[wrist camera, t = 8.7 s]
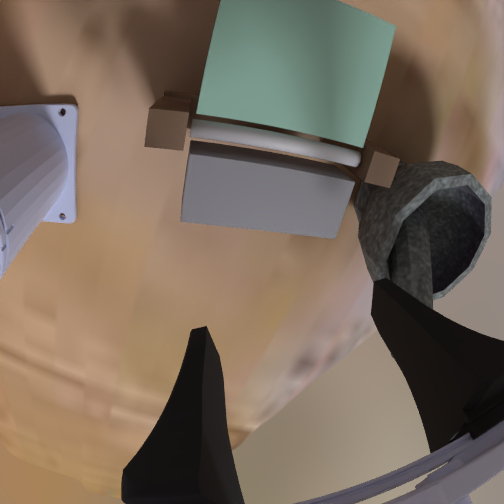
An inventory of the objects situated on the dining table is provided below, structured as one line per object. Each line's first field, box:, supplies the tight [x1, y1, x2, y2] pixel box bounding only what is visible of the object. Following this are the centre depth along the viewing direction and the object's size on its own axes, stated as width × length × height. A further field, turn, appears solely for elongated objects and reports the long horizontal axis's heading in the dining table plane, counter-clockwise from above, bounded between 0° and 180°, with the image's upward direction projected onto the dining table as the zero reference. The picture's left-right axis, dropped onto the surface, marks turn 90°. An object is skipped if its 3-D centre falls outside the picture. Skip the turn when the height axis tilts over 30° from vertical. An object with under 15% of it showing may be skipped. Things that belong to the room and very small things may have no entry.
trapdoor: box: [181, 0, 396, 239], centre depth 14 cm, size 8×11×3 cm
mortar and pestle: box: [354, 161, 491, 358], centre depth 18 cm, size 11×9×12 cm
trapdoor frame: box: [144, 91, 400, 188], centre depth 16 cm, size 12×2×6 cm, turn 78°
